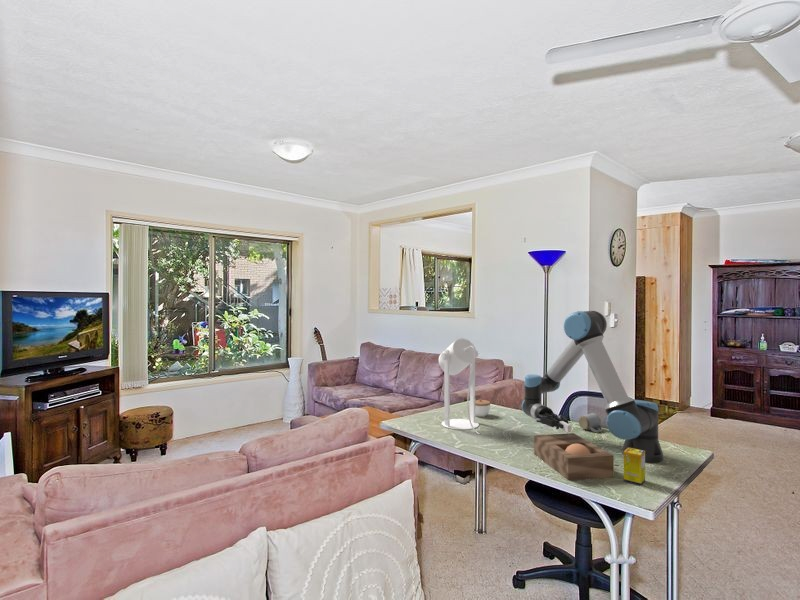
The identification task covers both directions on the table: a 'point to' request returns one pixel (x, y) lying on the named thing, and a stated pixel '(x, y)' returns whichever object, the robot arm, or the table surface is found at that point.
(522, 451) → the table surface
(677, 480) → the table surface
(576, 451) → the ball
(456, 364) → the desk lamp
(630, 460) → the supplement box
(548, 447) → the walnut stand
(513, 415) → the table surface
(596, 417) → the ceramic mug
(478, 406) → the lidded jar
